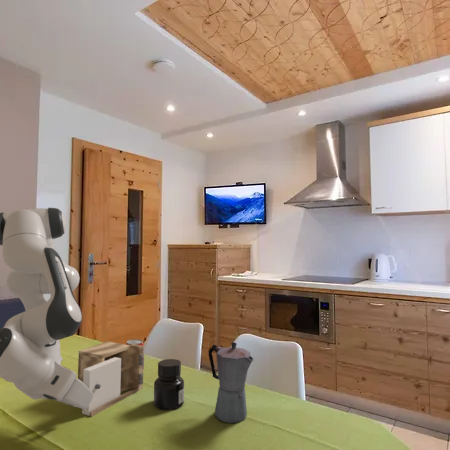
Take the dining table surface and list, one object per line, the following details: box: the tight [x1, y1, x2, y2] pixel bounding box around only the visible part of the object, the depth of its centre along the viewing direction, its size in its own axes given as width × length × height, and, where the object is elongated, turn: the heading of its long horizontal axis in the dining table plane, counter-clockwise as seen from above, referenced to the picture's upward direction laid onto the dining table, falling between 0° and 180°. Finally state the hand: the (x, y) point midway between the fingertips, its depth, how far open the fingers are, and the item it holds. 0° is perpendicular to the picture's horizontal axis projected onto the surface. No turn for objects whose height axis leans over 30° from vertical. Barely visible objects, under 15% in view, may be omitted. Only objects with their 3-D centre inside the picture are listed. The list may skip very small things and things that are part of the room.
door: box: [81, 357, 121, 417], centre depth 98 cm, size 3×12×12 cm, turn 154°
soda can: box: [125, 338, 145, 371], centre depth 123 cm, size 7×7×12 cm
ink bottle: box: [153, 358, 185, 411], centre depth 100 cm, size 10×9×12 cm
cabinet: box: [77, 341, 145, 418], centre depth 104 cm, size 15×21×14 cm
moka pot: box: [208, 342, 255, 424], centre depth 94 cm, size 10×15×20 cm, turn 58°
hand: (74, 403), depth 89 cm, fingers closed
